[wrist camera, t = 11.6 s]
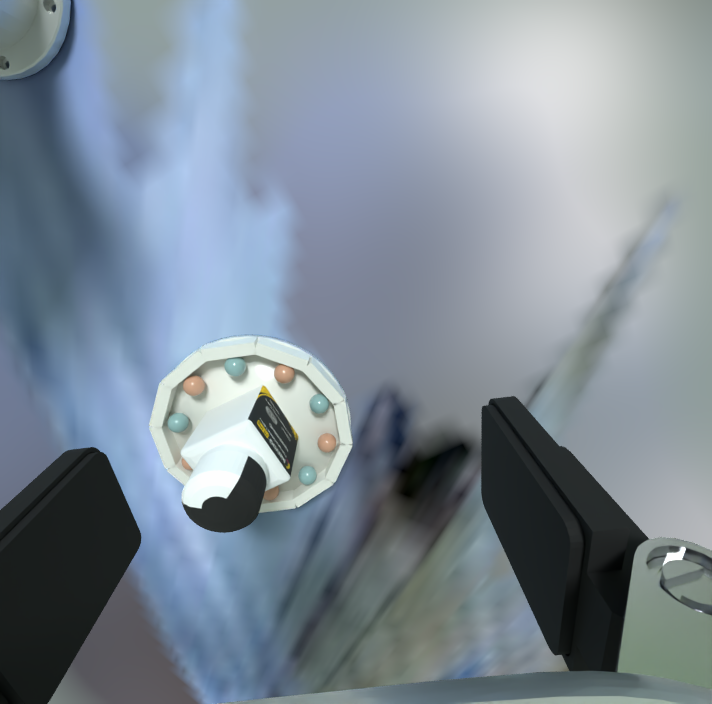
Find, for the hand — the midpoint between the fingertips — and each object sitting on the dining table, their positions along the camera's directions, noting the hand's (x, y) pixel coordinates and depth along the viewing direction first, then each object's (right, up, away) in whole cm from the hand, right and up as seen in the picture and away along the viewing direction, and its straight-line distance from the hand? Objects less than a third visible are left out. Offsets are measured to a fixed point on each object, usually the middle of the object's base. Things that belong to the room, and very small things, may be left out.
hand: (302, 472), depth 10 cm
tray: (-9, -5, +32) cm, 33 cm away
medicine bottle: (-9, -5, +31) cm, 32 cm away
